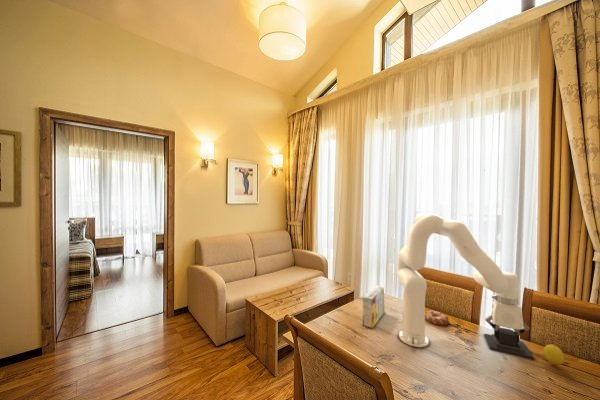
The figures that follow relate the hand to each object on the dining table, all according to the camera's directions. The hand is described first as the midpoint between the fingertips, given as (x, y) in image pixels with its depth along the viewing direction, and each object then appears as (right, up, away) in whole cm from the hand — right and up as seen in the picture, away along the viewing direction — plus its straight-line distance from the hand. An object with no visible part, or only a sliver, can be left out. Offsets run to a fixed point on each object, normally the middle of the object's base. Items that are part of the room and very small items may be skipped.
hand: (506, 340), depth 104 cm
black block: (0, 0, 0) cm, 0 cm away
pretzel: (-18, -3, +22) cm, 29 cm away
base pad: (0, -3, 0) cm, 3 cm away
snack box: (-51, -3, +24) cm, 57 cm away
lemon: (+8, -3, -12) cm, 15 cm away
